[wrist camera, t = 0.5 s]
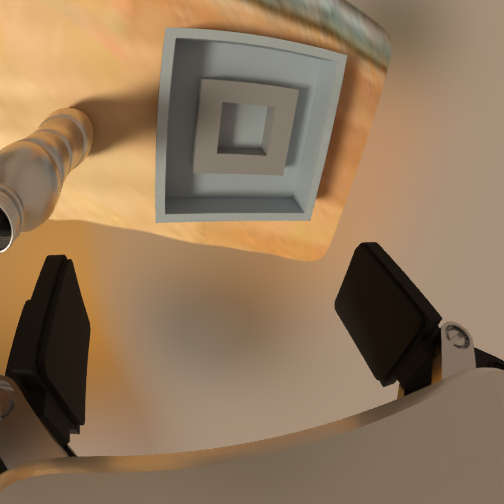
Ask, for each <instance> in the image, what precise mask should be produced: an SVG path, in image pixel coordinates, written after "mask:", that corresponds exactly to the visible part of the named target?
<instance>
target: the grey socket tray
mask: <svg viewBox="0 0 504 504" xmlns="http://www.w3.org/2000/svg"><path fill="white" fill-rule="evenodd" d="M346 61H347V55H344V54H341V53H337V52H334V51H330V50H326V49H322V48H318V47H314V46H310V45H306V44H302V43H297V42H292V41H287V40H282V39H277V38H272V37H266V36H260V35H253V34H246V33H238V32H230V31H220V30H209V29H195V28H168V27H166V30H165V38H164V46H163V55H162V65H161V75H160V87H159V100H158V116H157V136H156V174H155V209H156V223H168V222H209V221H310V219H311V216H312V212H313V208H314V204H315V200H316V196H317V192H318V188H319V184H320V180H321V176H322V172H323V167H324V163H325V159H326V155H327V150H328V146H329V142H330V137H331V133H332V128H333V124H334V119H335V115H336V110H337V105H338V101H339V96H340V91H341V86H342V81H343V76H344V71H345V66H346Z"/></svg>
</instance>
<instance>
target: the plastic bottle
mask: <svg viewBox="0 0 504 504" xmlns="http://www.w3.org/2000/svg"><path fill="white" fill-rule="evenodd" d="M92 142H93V127H92V124H91V121H90V119H89V118H88V117H87V115H85V114H84V113H83V112H82V111H80V110H78V109H74V108H65V109H59V110H57V111H55V112H53V113H51V114H50V115H49V116H48V117H47V118H46V119H45V120H44V121H43V122H42V124H41V125H40V127H39V128H38V129H37V130H36V131H35V132H34V133H33V134H31V135H30V136H28V137H26V138H24V139H22V140H19V141H17V142H14V143H12V144H10V145H8V146H6V147H5V148H3V149H2V150H1V151H0V253H2V252H4V251H6V250H7V249H8V248H9V247H10V246H11V245H12V243H13V241H14V240H15V239H16V238H17V237H18V236H19V234H20V233H21V232H28V231H31V230H33V229H35V228H37V227H39V226H40V225H41V224H43V223H44V222H45V221H46V220H47V219H48V218H49V217H50V216H51V214H52V213H53V211H54V208H55V206H56V204H57V201H58V199H59V196H60V192H61V189H62V186H63V183H64V181H65V179H66V177H67V175H68V174H69V173H70V172H71V171H72V170H73V169H74V168H76V167H77V166H78V165H79V164H80V163H82V162H83V161H84V160H85V158H86V157H87V156H88V154H89V152H90V150H91V147H92Z"/></svg>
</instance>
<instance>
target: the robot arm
mask: <svg viewBox="0 0 504 504" xmlns="http://www.w3.org/2000/svg"><path fill="white" fill-rule="evenodd" d="M335 310H336V312H337V314H338V315H339V317H340V319H341V320H342V322H343V324H344V325H345V327H346V329H347V330H348V332H349V334H350V335H351V337H352V339H353V340H354V342H355V344H356V346H357V347H358V349H359V351H360V353H361V354H362V356H363V357H364V359H365V361H366V363H367V365H368V366H369V368H370V370H371V372H372V373H373V375H374V377H375V378H376V379H377V380H379V381H380V382H381V384H382V386H383V387H385V386H388V385H391V384H394V383H395V382H396V380H398V381H399V383H400V384H399V389H398V395H397V400H394V401H392V402H389V403H387V404H384V405H381V406H379V407H376V408H373V409H370V410H368V411H365V412H362V413H359V414H357V415H354V416H350V417H347V418H345V419H341V420H338V421H335V422H332V423H328V424H325V425H321V426H318V427H314V428H311V429H307V430H303V431H300V432H296V433H291V434H288V435H283V436H279V437H275V438H270V439H265V440H260V441H255V442H250V443H245V444H239V445H234V446H227V447H221V448H214V449H206V450H198V451H190V452H179V453H169V454H168V453H167V454H155V455H139V456H92V457H78V456H77V455H76V454H75V452H74V451H73V450H72V449H71V448H70V446H69V445H68V443H69V442H70V434H80V425H84V423H85V396H86V376H87V361H88V349H89V340H90V322H89V319H88V316H87V312H86V309H85V306H84V303H83V299H82V296H81V292H80V289H79V285H78V281H77V277H76V273H75V270H74V266H73V262H72V260H71V259H67V258H66V256H65V255H49V256H47V257H46V260H45V262H44V265H43V267H42V270H41V272H40V275H39V278H38V280H37V283H36V286H35V289H34V291H33V295H32V297H31V300H27V301H26V303H25V305H24V307H23V310H22V313H21V316H20V320H19V323H18V326H17V329H16V333H15V336H14V340H13V344H12V348H11V351H10V356H9V359H8V364H7V369H6V372H5V376H4V375H0V504H504V361H503V360H501V359H499V358H497V357H495V356H493V355H490V354H488V353H486V352H484V351H481V350H479V349H477V348H475V347H474V345H473V340H472V337H471V335H470V334H469V332H468V331H467V330H466V329H465V328H464V327H462V326H461V325H459V324H458V323H455V322H446V323H444V324H443V325H442V327H441V328H439V326H438V324H439V323H440V321H441V320H442V317H441V316H440V315H439V313H438V312H437V311H436V310H435V308H434V307H433V306H432V305H431V304H430V302H429V301H428V300H427V299H426V298H425V296H424V295H423V294H422V293H421V292H420V290H419V289H418V288H417V287H416V286H415V284H414V283H413V282H412V281H411V280H410V279H409V277H408V276H407V275H406V274H405V273H404V272H403V271H402V269H401V268H400V267H399V266H398V265H397V264H396V263H395V262H394V261H393V259H392V258H391V257H390V256H389V255H388V254H387V253H386V252H385V251H384V250H383V248H382V247H381V246H380V245H379V244H378V243H376V242H365V243H361V244H360V245H359V246H358V247H357V248H356V249H355V251H354V254H353V257H352V259H351V262H350V265H349V268H348V270H347V272H346V275H345V278H344V280H343V283H342V285H341V288H340V290H339V293H338V295H337V298H336V300H335Z"/></svg>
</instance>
